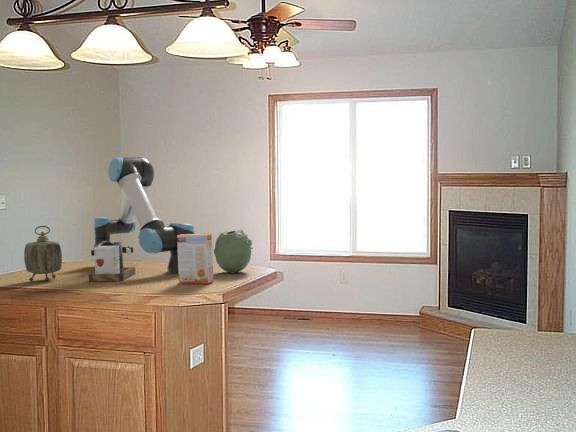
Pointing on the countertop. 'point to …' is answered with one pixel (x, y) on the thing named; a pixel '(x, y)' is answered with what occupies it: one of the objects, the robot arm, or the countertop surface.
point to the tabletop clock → (42, 256)
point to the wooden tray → (123, 274)
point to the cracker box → (195, 258)
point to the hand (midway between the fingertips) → (116, 253)
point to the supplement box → (107, 260)
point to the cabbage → (233, 251)
